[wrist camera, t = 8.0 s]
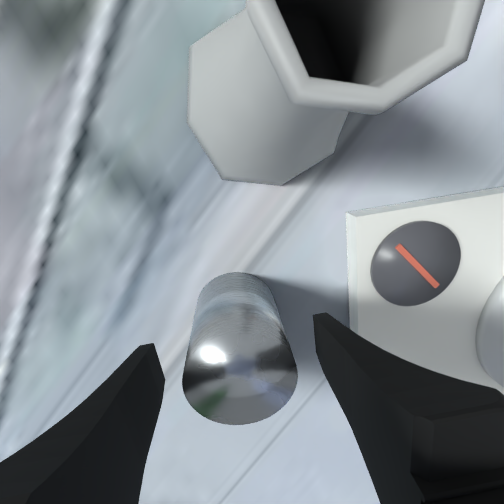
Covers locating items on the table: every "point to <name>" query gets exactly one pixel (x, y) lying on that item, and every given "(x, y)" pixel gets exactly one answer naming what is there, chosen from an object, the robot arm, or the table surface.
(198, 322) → the cylinder
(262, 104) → the flask
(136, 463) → the robot arm
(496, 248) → the scale
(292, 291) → the table surface
